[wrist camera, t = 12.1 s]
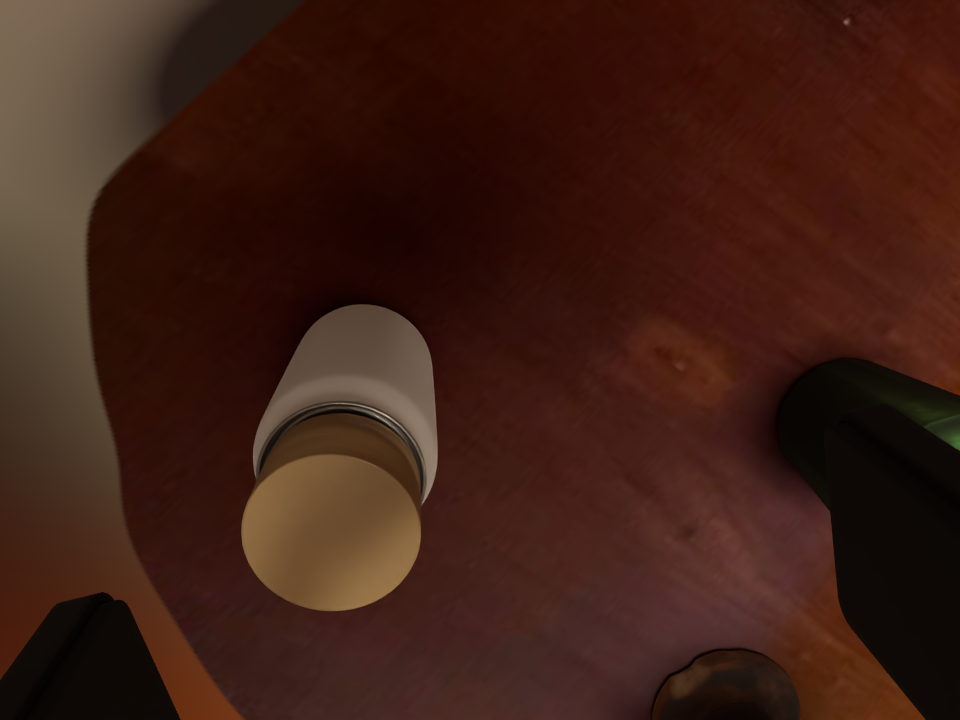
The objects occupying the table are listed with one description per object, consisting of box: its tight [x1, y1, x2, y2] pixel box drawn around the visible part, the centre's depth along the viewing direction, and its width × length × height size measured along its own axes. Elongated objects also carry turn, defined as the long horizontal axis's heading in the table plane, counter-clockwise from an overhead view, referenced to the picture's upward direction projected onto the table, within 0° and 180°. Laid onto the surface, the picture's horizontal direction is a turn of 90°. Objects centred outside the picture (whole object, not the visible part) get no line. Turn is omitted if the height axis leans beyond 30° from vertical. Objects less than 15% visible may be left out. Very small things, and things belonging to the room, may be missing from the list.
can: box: [253, 304, 437, 505], centre depth 31 cm, size 6×6×12 cm
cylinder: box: [241, 413, 421, 611], centre depth 24 cm, size 5×5×3 cm
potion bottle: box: [777, 359, 960, 510], centre depth 31 cm, size 8×8×18 cm
